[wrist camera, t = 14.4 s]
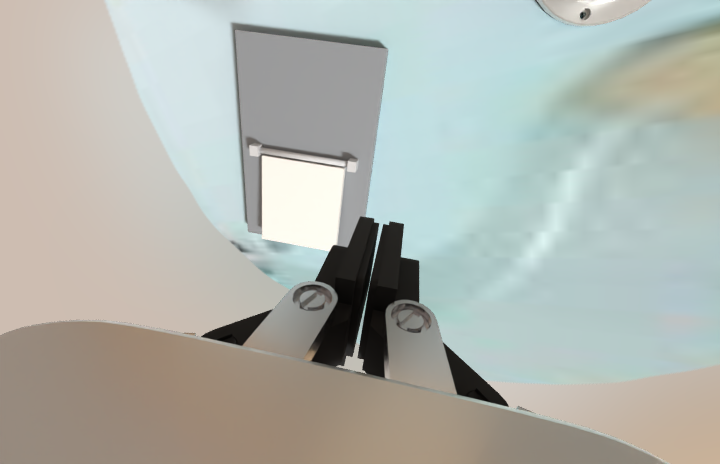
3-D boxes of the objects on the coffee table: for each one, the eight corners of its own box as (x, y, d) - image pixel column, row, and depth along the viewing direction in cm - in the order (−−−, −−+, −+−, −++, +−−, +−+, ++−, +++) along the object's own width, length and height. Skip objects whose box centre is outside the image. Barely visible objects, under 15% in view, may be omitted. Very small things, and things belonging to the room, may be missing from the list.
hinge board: (242, 31, 33) (227, 27, 31) (388, 49, 32) (385, 47, 29) (252, 227, 45) (243, 236, 42) (361, 247, 43) (357, 257, 41)
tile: (262, 238, 41) (265, 235, 42) (335, 252, 40) (336, 248, 41) (261, 155, 37) (265, 154, 38) (344, 169, 36) (345, 167, 37)
